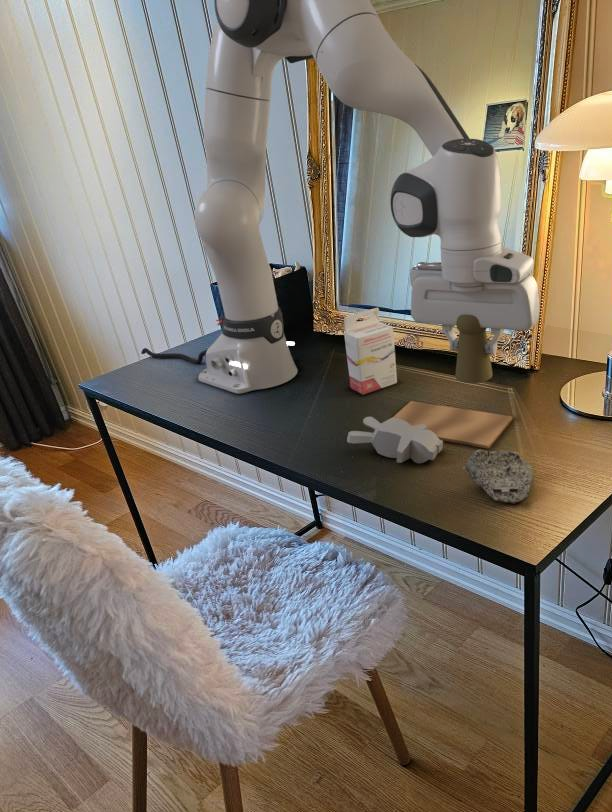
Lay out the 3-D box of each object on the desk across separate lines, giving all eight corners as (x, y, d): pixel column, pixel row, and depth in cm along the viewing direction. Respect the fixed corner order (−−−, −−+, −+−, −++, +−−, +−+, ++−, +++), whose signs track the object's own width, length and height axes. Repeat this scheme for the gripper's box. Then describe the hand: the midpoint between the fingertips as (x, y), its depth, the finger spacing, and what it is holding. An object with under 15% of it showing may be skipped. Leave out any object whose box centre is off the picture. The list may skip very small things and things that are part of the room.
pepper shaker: (492, 382, 104) (491, 314, 97) (454, 383, 105) (450, 317, 99) (493, 367, 108) (492, 302, 102) (456, 368, 110) (453, 304, 104)
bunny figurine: (425, 452, 99) (341, 427, 105) (424, 479, 102) (342, 454, 108) (450, 424, 105) (370, 402, 111) (448, 450, 109) (370, 428, 114)
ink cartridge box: (363, 396, 128) (354, 322, 120) (350, 388, 132) (340, 317, 123) (398, 382, 131) (392, 310, 123) (385, 376, 135) (378, 305, 127)
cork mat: (382, 429, 115) (382, 426, 115) (411, 403, 123) (410, 400, 122) (488, 448, 106) (488, 445, 105) (512, 419, 113) (512, 416, 113)
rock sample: (488, 495, 88) (489, 434, 90) (459, 507, 94) (460, 450, 97) (551, 507, 91) (550, 448, 94) (519, 518, 98) (519, 463, 100)
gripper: (399, 267, 100) (407, 353, 107) (530, 271, 90) (528, 365, 97) (418, 256, 104) (424, 339, 111) (544, 258, 94) (541, 349, 102)
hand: (473, 351), depth 104 cm, fingers closed on pepper shaker, 4 cm apart
